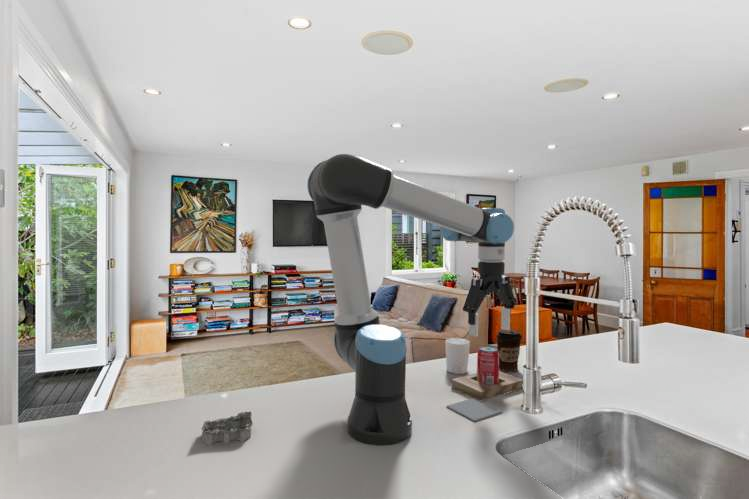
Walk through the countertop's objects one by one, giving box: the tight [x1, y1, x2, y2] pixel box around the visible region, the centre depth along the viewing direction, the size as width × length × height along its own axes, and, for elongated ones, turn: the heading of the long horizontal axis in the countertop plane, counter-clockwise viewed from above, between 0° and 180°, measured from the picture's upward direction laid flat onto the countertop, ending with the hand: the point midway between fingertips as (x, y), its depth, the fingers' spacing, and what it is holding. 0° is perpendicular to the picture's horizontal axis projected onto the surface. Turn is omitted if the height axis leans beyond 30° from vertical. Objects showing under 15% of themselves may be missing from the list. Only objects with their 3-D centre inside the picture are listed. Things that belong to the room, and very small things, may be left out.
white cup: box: [445, 337, 471, 375], centre depth 142 cm, size 8×8×10 cm
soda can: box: [476, 345, 500, 386], centre depth 127 cm, size 6×6×12 cm
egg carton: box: [201, 411, 253, 445], centre depth 96 cm, size 11×8×4 cm
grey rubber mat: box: [446, 397, 503, 423], centre depth 112 cm, size 10×10×1 cm
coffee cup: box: [496, 329, 523, 373], centre depth 144 cm, size 9×8×13 cm
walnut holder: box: [451, 370, 524, 402], centre depth 127 cm, size 18×12×2 cm, turn 123°
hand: (489, 332), depth 127 cm, fingers open, 13 cm apart
